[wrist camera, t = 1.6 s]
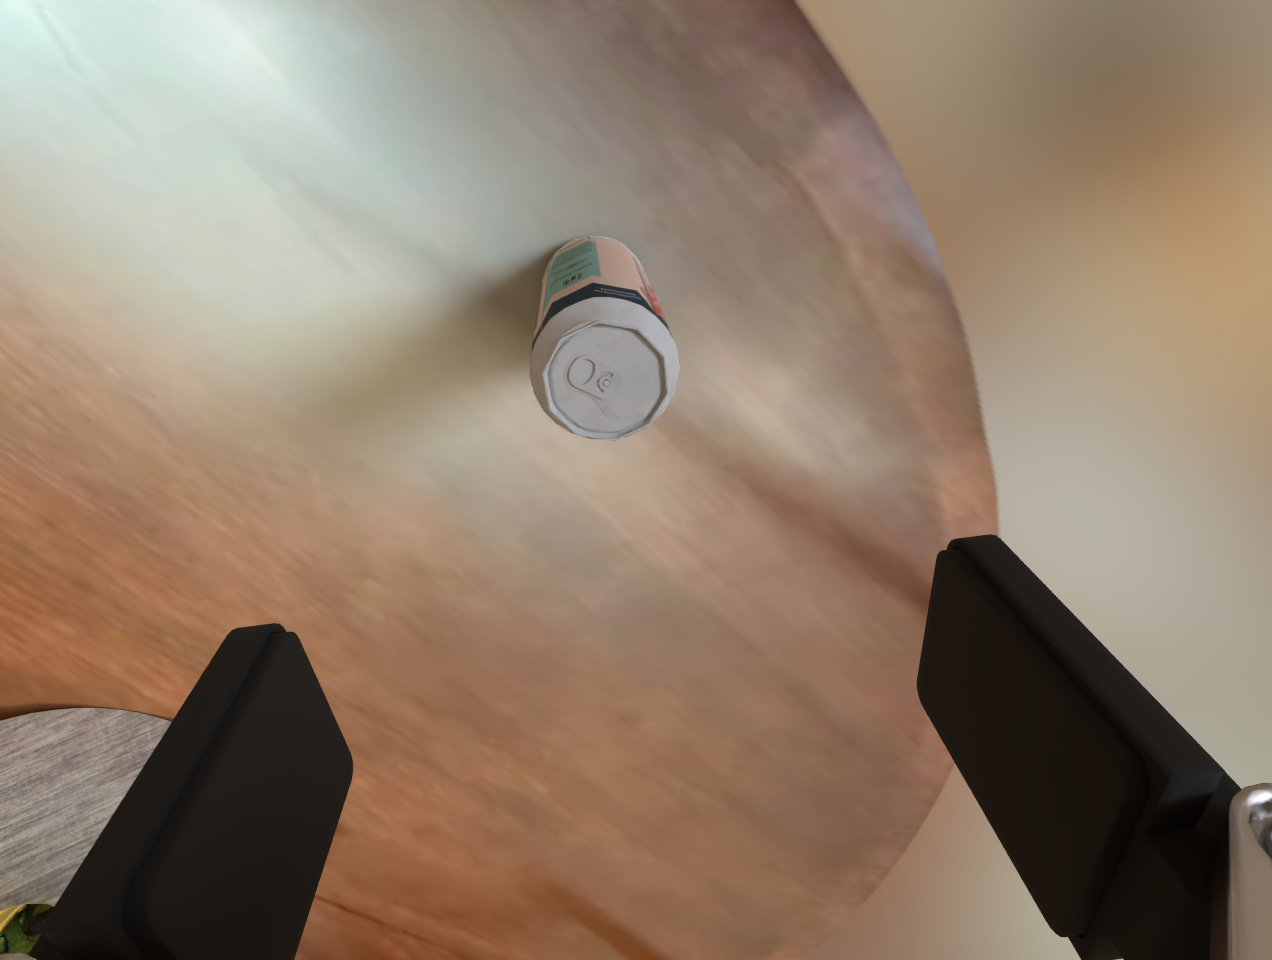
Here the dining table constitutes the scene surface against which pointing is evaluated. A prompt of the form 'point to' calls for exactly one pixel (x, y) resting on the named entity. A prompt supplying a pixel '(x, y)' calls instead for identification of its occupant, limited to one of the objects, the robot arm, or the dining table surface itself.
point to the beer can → (601, 342)
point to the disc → (60, 803)
